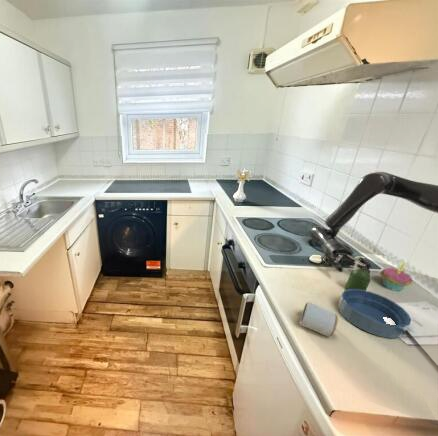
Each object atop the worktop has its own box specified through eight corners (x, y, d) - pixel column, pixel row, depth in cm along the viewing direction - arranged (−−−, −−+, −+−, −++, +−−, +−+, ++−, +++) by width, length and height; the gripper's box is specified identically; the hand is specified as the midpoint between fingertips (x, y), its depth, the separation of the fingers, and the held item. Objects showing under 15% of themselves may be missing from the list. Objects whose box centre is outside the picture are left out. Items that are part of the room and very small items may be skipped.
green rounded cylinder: (359, 287, 91) (368, 265, 87) (367, 297, 86) (377, 274, 82) (342, 285, 92) (350, 263, 88) (349, 294, 87) (358, 271, 83)
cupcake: (407, 297, 86) (422, 269, 81) (376, 286, 91) (388, 260, 86) (406, 285, 91) (419, 259, 87) (376, 276, 97) (388, 251, 92)
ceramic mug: (331, 343, 68) (339, 323, 65) (298, 329, 73) (305, 310, 70) (331, 320, 76) (338, 301, 73) (301, 309, 81) (307, 291, 78)
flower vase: (230, 204, 179) (235, 171, 169) (230, 196, 195) (235, 166, 185) (249, 205, 175) (255, 172, 165) (247, 198, 191) (252, 167, 181)
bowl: (383, 305, 82) (389, 293, 80) (418, 344, 68) (426, 332, 66) (329, 296, 86) (333, 285, 84) (351, 332, 72) (357, 319, 70)
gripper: (320, 241, 105) (335, 260, 90) (358, 245, 101) (380, 266, 87) (315, 255, 108) (329, 276, 93) (352, 260, 104) (373, 283, 90)
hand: (354, 271), depth 90 cm, fingers open, 8 cm apart
